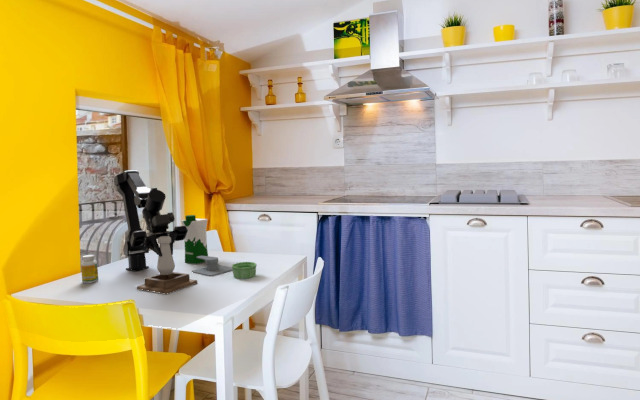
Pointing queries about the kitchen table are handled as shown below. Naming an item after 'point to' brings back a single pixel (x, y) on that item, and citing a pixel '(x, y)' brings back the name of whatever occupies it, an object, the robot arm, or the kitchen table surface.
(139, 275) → the kitchen table surface
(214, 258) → the shower valve
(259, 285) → the kitchen table surface
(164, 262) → the salt shaker
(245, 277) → the ramekin
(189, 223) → the milk carton
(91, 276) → the supplement bottle
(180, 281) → the collar socket
